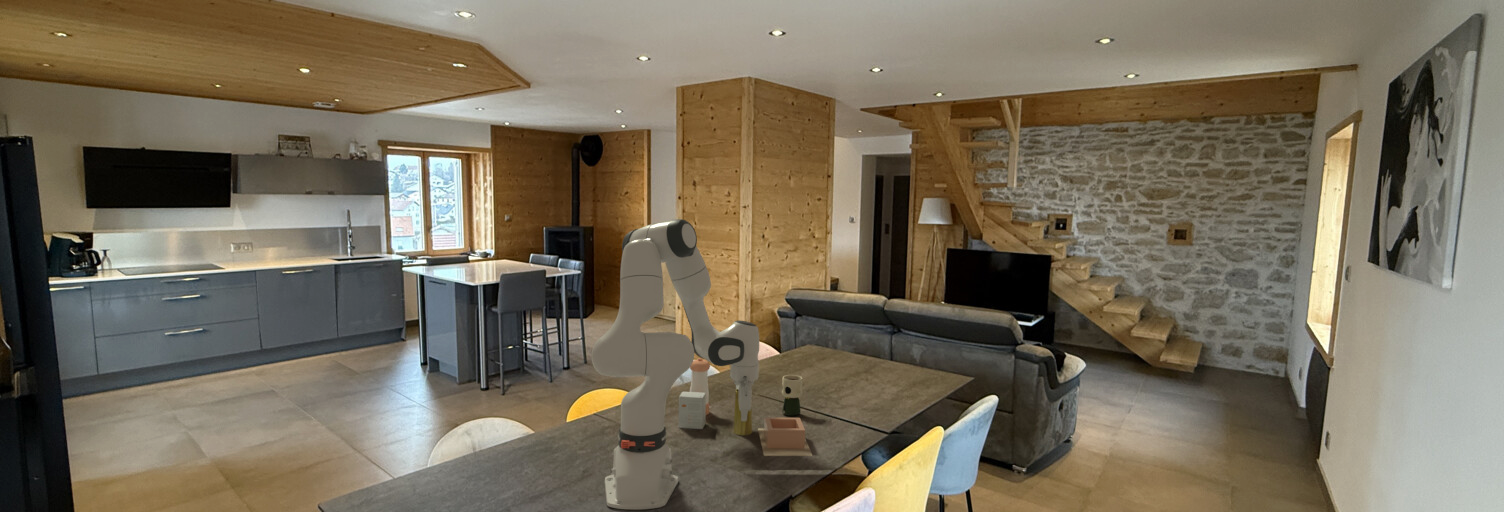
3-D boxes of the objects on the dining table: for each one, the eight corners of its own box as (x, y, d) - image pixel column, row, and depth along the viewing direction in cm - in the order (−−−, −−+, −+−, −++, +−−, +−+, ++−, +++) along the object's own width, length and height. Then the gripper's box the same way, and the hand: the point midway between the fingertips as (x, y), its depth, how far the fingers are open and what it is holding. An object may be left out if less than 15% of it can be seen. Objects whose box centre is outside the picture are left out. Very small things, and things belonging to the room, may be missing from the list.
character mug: (774, 411, 228) (775, 374, 227) (791, 408, 231) (792, 372, 230) (791, 420, 218) (792, 382, 217) (808, 417, 222) (810, 380, 221)
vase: (750, 439, 200) (751, 394, 199) (730, 437, 201) (732, 392, 200) (754, 432, 206) (755, 388, 205) (735, 430, 207) (736, 386, 206)
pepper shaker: (684, 414, 221) (685, 359, 219) (692, 408, 228) (694, 354, 226) (704, 417, 219) (706, 361, 217) (712, 410, 226) (713, 356, 224)
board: (812, 459, 186) (812, 455, 186) (763, 459, 185) (763, 455, 185) (801, 431, 208) (801, 428, 208) (757, 431, 207) (757, 428, 207)
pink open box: (804, 448, 191) (805, 430, 191) (767, 448, 190) (767, 430, 190) (799, 434, 202) (799, 417, 202) (764, 434, 201) (764, 417, 201)
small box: (705, 423, 213) (706, 392, 212) (702, 429, 207) (703, 397, 206) (681, 422, 213) (682, 390, 213) (678, 428, 208) (678, 396, 207)
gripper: (757, 382, 192) (755, 427, 193) (752, 364, 212) (750, 405, 213) (735, 381, 191) (734, 427, 192) (732, 364, 212) (731, 405, 213)
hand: (743, 415), depth 203 cm, fingers open, 7 cm apart
